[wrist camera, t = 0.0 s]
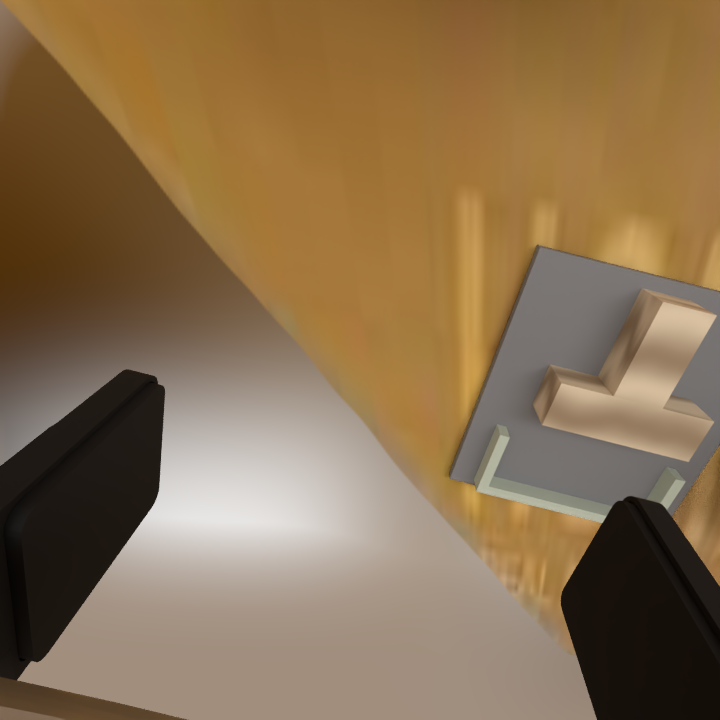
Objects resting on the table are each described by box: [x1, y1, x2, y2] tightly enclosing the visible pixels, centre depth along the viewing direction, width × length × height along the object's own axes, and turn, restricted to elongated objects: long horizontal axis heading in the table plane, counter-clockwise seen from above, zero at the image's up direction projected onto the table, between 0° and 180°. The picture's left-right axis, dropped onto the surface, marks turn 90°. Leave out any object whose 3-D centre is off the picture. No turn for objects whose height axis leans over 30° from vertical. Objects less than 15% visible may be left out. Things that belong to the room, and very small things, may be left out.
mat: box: [449, 245, 720, 523], centre depth 47 cm, size 26×24×3 cm
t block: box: [532, 288, 717, 462], centre depth 44 cm, size 14×14×4 cm
